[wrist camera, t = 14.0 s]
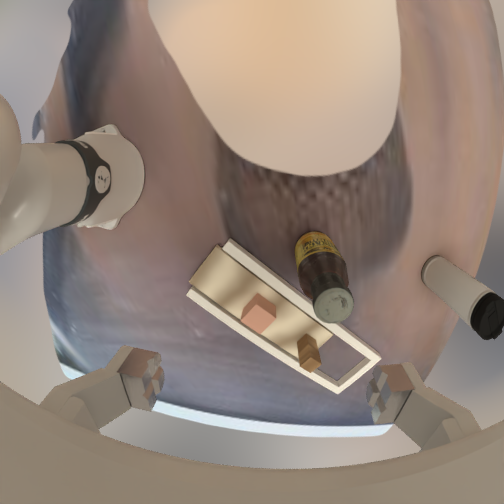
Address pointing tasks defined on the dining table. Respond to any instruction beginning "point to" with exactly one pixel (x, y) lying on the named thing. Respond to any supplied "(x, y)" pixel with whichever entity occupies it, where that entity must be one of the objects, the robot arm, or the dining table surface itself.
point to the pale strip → (249, 284)
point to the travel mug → (465, 296)
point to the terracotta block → (258, 313)
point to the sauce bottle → (323, 277)
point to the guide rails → (302, 303)
